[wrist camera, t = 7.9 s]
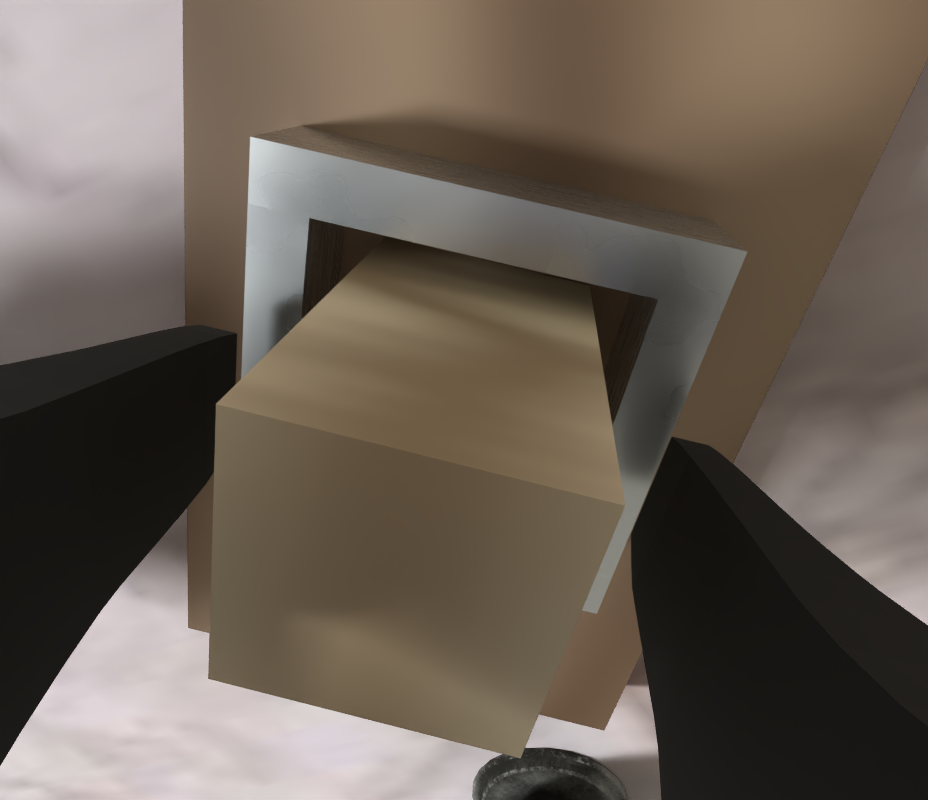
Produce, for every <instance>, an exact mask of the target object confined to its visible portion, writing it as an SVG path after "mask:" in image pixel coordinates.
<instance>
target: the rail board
mask: <svg viewBox="0 0 928 800" xmlns="http://www.w3.org/2000/svg"><path fill="white" fill-rule="evenodd" d="M927 60H928V0H183V90H184V202H185V313H186V326H192V325H204V326H209V327H213V328H217V329H221V330H226V331H230V332H234V333H237V356H236V384H237V383H238V382H239V381H240V380H241V371H242V345H243V318H244V291H245V264H246V237H247V210H248V183H249V156H250V137H251V136H255V135H260V134H264V133H269V132H274V131H278V130H283V129H287V128H292V127H297V126H301V125H302V126H306V127H310V128H315V129H319V130H323V131H328V132H332V133H336V134H341V135H345V136H349V137H354V138H358V139H362V140H367V141H371V142H375V143H380V144H384V145H388V146H393V147H397V148H401V149H406V150H410V151H414V152H419V153H423V154H427V155H432V156H436V157H440V158H445V159H449V160H453V161H458V162H462V163H466V164H471V165H475V166H479V167H484V168H488V169H492V170H497V171H501V172H505V173H510V174H514V175H518V176H523V177H527V178H531V179H536V180H540V181H544V182H549V183H553V184H557V185H562V186H566V187H570V188H575V189H579V190H583V191H588V192H592V193H596V194H601V195H605V196H609V197H614V198H618V199H622V200H627V201H631V202H635V203H640V204H644V205H648V206H653V207H657V208H661V209H666V210H670V211H674V212H679V213H683V214H687V215H692V216H696V217H700V218H705V219H709V220H713V221H715V222H717V223H718V224H719V225H720V226H721V227H722V228H723V229H724V230H725V231H726V232H727V233H728V234H729V235H730V236H731V237H732V238H734V239H735V240H736V241H737V242H738V243H739V244H740V245H741V246H742V247H743V248H744V249H745V250H746V251H747V254H746V257H745V259H744V261H743V264H742V266H741V269H740V271H739V273H738V276H737V278H736V281H735V283H734V285H733V288H732V290H731V293H730V295H729V297H728V300H727V302H726V305H725V307H724V309H723V312H722V314H721V317H720V319H719V321H718V324H717V326H716V329H715V331H714V333H713V336H712V338H711V341H710V343H709V345H708V348H707V350H706V353H705V355H704V357H703V360H702V362H701V365H700V367H699V369H698V372H697V374H696V377H695V379H694V382H693V384H692V386H691V389H690V391H689V394H688V396H687V398H686V401H685V403H684V406H683V408H682V410H681V413H680V415H679V418H678V420H677V422H676V425H675V427H674V430H673V432H672V434H671V437H676V438H680V439H685V440H689V441H693V442H697V443H701V444H706V445H709V446H711V447H712V448H714V449H715V450H717V451H718V452H719V453H721V454H722V455H723V456H724V457H725V458H727V459H728V460H729V461H730V462H731V463H732V464H733V462H734V460H735V458H736V456H737V454H738V452H739V450H740V448H741V446H742V443H743V441H744V439H745V437H746V435H747V433H748V431H749V429H750V427H751V425H752V423H753V421H754V419H755V417H756V414H757V412H758V410H759V408H760V406H761V404H762V402H763V400H764V398H765V396H766V394H767V392H768V390H769V387H770V385H771V383H772V381H773V379H774V377H775V375H776V373H777V371H778V369H779V367H780V365H781V363H782V361H783V358H784V356H785V354H786V352H787V350H788V348H789V346H790V344H791V342H792V340H793V338H794V336H795V334H796V331H797V329H798V327H799V325H800V323H801V321H802V319H803V317H804V315H805V313H806V311H807V309H808V307H809V305H810V302H811V300H812V298H813V296H814V294H815V292H816V290H817V288H818V286H819V284H820V282H821V280H822V278H823V276H824V273H825V271H826V269H827V267H828V265H829V263H830V261H831V259H832V257H833V255H834V253H835V251H836V249H837V246H838V244H839V242H840V240H841V238H842V236H843V234H844V232H845V230H846V228H847V226H848V224H849V222H850V220H851V217H852V215H853V213H854V211H855V209H856V207H857V205H858V203H859V201H860V199H861V197H862V195H863V193H864V190H865V188H866V186H867V184H868V182H869V180H870V178H871V176H872V174H873V172H874V170H875V168H876V166H877V164H878V161H879V159H880V157H881V155H882V153H883V151H884V149H885V147H886V145H887V143H888V141H889V139H890V137H891V134H892V132H893V130H894V128H895V126H896V124H897V122H898V120H899V118H900V116H901V114H902V112H903V110H904V108H905V105H906V103H907V101H908V99H909V97H910V95H911V93H912V91H913V89H914V87H915V85H916V83H917V81H918V79H919V76H920V74H921V72H922V70H923V68H924V66H925V64H926V62H927ZM385 237H386V236H384V235H380V234H376V233H372V232H367V231H363V230H359V229H354V228H350V227H346V226H345V235H344V244H343V253H342V262H341V271H340V280H339V282H340V281H341V280H342V279H343V278H344V277H345V276H346V275H347V274H348V273H349V272H350V271H351V270H352V269H353V268H354V267H356V266H357V265H358V264H359V263H360V262H361V261H362V260H363V259H364V258H365V257H366V256H367V255H368V254H369V253H370V252H371V251H372V250H373V249H374V248H375V247H376V246H377V245H378V244H379V243H380V242H381V241H382V240H383V239H384V238H385ZM388 237H389V236H388ZM392 238H393V237H392ZM396 239H397V238H396ZM400 240H401V239H400ZM404 241H406V240H404ZM408 242H410V241H408ZM412 243H414V242H412ZM416 244H419V243H416ZM420 245H423V244H420ZM425 246H427V245H425ZM429 247H431V246H429ZM433 248H436V247H433ZM437 249H440V248H437ZM441 250H444V249H441ZM445 251H449V250H445ZM449 252H453V251H449ZM453 253H457V252H453ZM457 254H461V253H457ZM461 255H466V254H461ZM466 256H470V255H466ZM470 257H474V256H470ZM474 258H478V259H482V260H486V261H490V262H494V263H498V264H502V265H506V266H511V267H515V268H519V269H523V270H527V271H531V272H535V273H539V274H543V275H547V276H552V277H556V278H560V279H564V280H568V281H572V282H576V283H580V284H584V285H588V286H590V291H591V297H592V303H593V310H594V316H595V322H596V328H597V334H598V341H599V347H600V353H601V359H602V365H603V371H605V368H606V365H607V362H608V360H609V357H610V354H611V351H612V348H613V345H614V342H615V339H616V336H617V333H618V330H619V327H620V324H621V321H622V318H623V315H624V312H625V309H626V306H627V303H628V300H629V298H630V295H631V293H628V292H624V291H620V290H616V289H611V288H607V287H603V286H599V285H594V284H590V283H586V282H581V281H577V280H573V279H569V278H564V277H560V276H556V275H551V274H547V273H543V272H539V271H534V270H530V269H526V268H521V267H517V266H513V265H509V264H504V263H500V262H496V261H491V260H487V259H483V258H479V257H474ZM671 437H670V439H671ZM670 439H669V442H670ZM669 442H668V444H669ZM668 444H667V446H666V449H667V447H668ZM666 449H665V451H666ZM665 451H664V454H665ZM664 454H663V456H664ZM663 456H662V458H661V461H662V459H663ZM661 461H660V463H661ZM660 463H659V466H660ZM659 466H658V468H659ZM658 468H657V470H656V473H657V471H658ZM656 473H655V475H656ZM655 475H654V478H655ZM654 478H653V480H654ZM653 480H652V482H651V485H652V483H653ZM651 485H650V487H651ZM650 487H649V490H650ZM649 490H648V492H649ZM648 492H647V494H646V497H647V495H648ZM213 494H214V473H213V474H212V476H211V477H210V479H209V480H208V482H207V483H206V485H205V486H204V487H203V489H202V490H201V491H200V492H199V494H198V495H197V496H196V497H195V498H194V500H193V501H192V502H191V503H190V504H189V506H188V507H187V536H188V628H191V629H195V630H199V631H203V632H207V633H210V602H211V566H212V530H213ZM646 497H645V499H646ZM645 499H644V502H645ZM644 502H643V504H644ZM643 504H642V506H641V509H642V507H643ZM641 509H640V511H641ZM640 511H639V514H640ZM639 514H638V516H639ZM638 516H637V518H638ZM637 518H636V521H637ZM636 521H635V523H636ZM635 523H634V526H635ZM634 526H633V528H634ZM633 528H632V530H633ZM632 530H631V533H632ZM631 533H630V535H629V538H628V540H627V543H626V545H625V547H624V550H623V552H622V555H621V557H620V559H619V562H618V564H617V567H616V569H615V571H614V574H613V576H612V579H611V581H610V583H609V586H608V588H607V591H606V593H605V595H604V598H603V600H602V603H601V605H600V607H599V610H598V612H597V614H595V613H591V612H587V611H583V610H582V611H581V614H580V616H579V619H578V621H577V623H576V626H575V628H574V631H573V633H572V635H571V638H570V640H569V643H568V645H567V647H566V650H565V652H564V655H563V657H562V660H561V662H560V664H559V667H558V669H557V672H556V674H555V676H554V679H553V681H552V684H551V686H550V688H549V691H548V693H547V696H546V698H545V701H544V703H543V705H542V708H541V710H540V713H539V714H540V715H544V716H548V717H552V718H556V719H560V720H564V721H568V722H572V723H576V724H580V725H584V726H588V727H592V728H596V729H601V730H605V728H606V725H607V723H608V721H609V719H610V717H611V715H612V713H613V711H614V709H615V707H616V705H617V703H618V701H619V699H620V696H621V694H622V692H623V690H624V688H625V686H626V684H627V682H628V680H629V678H630V676H631V674H632V672H633V670H634V667H635V665H636V663H637V661H638V659H639V657H640V655H641V653H642V645H641V639H640V634H639V628H638V622H637V616H636V610H635V604H634V597H633V591H632V574H631Z"/></svg>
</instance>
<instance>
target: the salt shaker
mask: <svg viewBox="0 0 928 800" xmlns="http://www.w3.org/2000/svg"><path fill="white" fill-rule="evenodd" d="M472 797H473V800H627V795H626V790H625V789H624V787H623V786H622V784H621V782H620V781H619V779H618V778H617V777H616V776H615V775H614V774H612V773H611V772H610V771H609V770H608V769H607V768H606V767H604V766H602V765H601V764H599V763H597V762H595V761H593V760H591V759H589V758H588V757H585V756H581V755H578V754H575V753H572V752H569V751H563V750H556V749H549V748H532V749H524V751H523V754H522V756H521V758H517V757H513V756H510V755H506V754H502V755H500V756H498V757H496V758H494V759H492V760H490V761H489V762H488V763H487V764H485V765H484V766H483V767H482V768H481V769H480V770H479V772H478V774H477V775H476V777H475V779H474V782H473V795H472Z"/></svg>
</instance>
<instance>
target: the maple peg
mask: <svg viewBox="0 0 928 800" xmlns="http://www.w3.org/2000/svg"><path fill="white" fill-rule="evenodd" d="M624 508H625V501H624V495H623V489H622V483H621V476H620V470H619V464H618V458H617V452H616V446H615V439H614V433H613V427H612V421H611V415H610V408H609V402H608V396H607V390H606V384H605V378H604V371H603V365H602V359H601V353H600V347H599V341H598V334H597V328H596V322H595V316H594V310H593V303H592V297H591V291H590V286H588V285H584V284H580V283H576V282H572V281H568V280H564V279H560V278H556V277H552V276H547V275H543V274H539V273H535V272H531V271H527V270H523V269H519V268H515V267H511V266H506V265H502V264H498V263H494V262H490V261H486V260H482V259H478V258H474V257H470V256H466V255H461V254H457V253H453V252H449V251H445V250H441V249H437V248H433V247H429V246H425V245H420V244H416V243H412V242H408V241H404V240H400V239H396V238H392V237H388V236H386V237H385V238H384V239H383V240H382V241H381V242H380V243H379V244H378V245H377V246H376V247H375V248H374V249H373V250H372V251H371V252H370V253H369V254H368V255H367V256H366V257H365V258H364V259H363V260H362V261H361V262H360V263H359V264H358V265H357V266H356V267H354V268H353V269H352V270H351V271H350V272H349V273H348V274H347V275H346V276H345V277H344V278H343V279H342V280H341V281H340V282H339V283H338V284H337V285H336V286H335V287H334V288H333V289H332V290H331V291H330V292H329V293H328V294H327V295H326V296H325V297H324V298H323V299H322V300H321V301H320V302H319V303H318V304H317V305H316V306H315V307H314V308H313V309H312V310H311V311H310V312H309V313H308V314H307V315H306V316H305V317H304V318H303V319H302V320H301V321H300V322H299V323H298V324H297V325H296V326H295V327H294V328H293V329H292V330H291V331H290V332H289V333H288V334H286V335H285V336H284V337H283V338H282V339H281V340H280V341H279V342H278V343H277V344H276V345H275V346H274V347H273V348H272V349H271V350H270V351H269V352H268V353H267V354H266V355H265V356H264V357H263V358H262V359H261V360H260V361H259V362H258V363H257V364H256V365H255V366H254V367H253V368H252V369H251V370H250V371H249V372H248V373H247V374H246V375H245V376H244V377H243V378H242V379H241V380H240V381H239V382H238V383H237V384H236V385H235V386H234V387H233V388H232V389H231V390H230V391H229V392H228V393H227V394H226V395H225V396H224V397H223V398H222V399H221V400H220V401H218V402H217V403H216V422H215V458H214V494H213V530H212V566H211V602H210V638H209V674H208V679H211V680H215V681H219V682H223V683H227V684H231V685H235V686H239V687H243V688H247V689H251V690H255V691H258V692H262V693H266V694H270V695H274V696H278V697H282V698H286V699H290V700H294V701H298V702H302V703H306V704H309V705H313V706H317V707H321V708H325V709H329V710H333V711H337V712H341V713H345V714H349V715H353V716H357V717H360V718H364V719H368V720H372V721H376V722H380V723H384V724H388V725H392V726H396V727H400V728H404V729H408V730H411V731H415V732H419V733H423V734H427V735H431V736H435V737H439V738H443V739H447V740H451V741H455V742H459V743H462V744H466V745H470V746H474V747H478V748H482V749H486V750H490V751H494V752H498V753H502V754H506V755H510V756H513V757H517V758H521V756H522V754H523V751H524V749H525V746H526V744H527V742H528V739H529V737H530V734H531V732H532V729H533V727H534V725H535V722H536V720H537V717H538V715H539V713H540V710H541V708H542V705H543V703H544V701H545V698H546V696H547V693H548V691H549V688H550V686H551V684H552V681H553V679H554V676H555V674H556V672H557V669H558V667H559V664H560V662H561V660H562V657H563V655H564V652H565V650H566V647H567V645H568V643H569V640H570V638H571V635H572V633H573V631H574V628H575V626H576V623H577V621H578V619H579V616H580V614H581V611H582V609H583V606H584V604H585V602H586V599H587V597H588V594H589V592H590V590H591V587H592V585H593V582H594V580H595V577H596V575H597V573H598V570H599V568H600V565H601V563H602V561H603V558H604V556H605V553H606V551H607V549H608V546H609V544H610V541H611V539H612V536H613V534H614V532H615V529H616V527H617V524H618V522H619V520H620V517H621V515H622V512H623V510H624Z"/></svg>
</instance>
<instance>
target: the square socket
mask: <svg viewBox="0 0 928 800" xmlns="http://www.w3.org/2000/svg"><path fill="white" fill-rule="evenodd" d="M345 226H346V227H350V228H354V229H359V230H363V231H367V232H372V233H376V234H380V235H384V236H389V237H393V238H397V239H401V240H406V241H410V242H414V243H419V244H423V245H427V246H431V247H436V248H440V249H444V250H449V251H453V252H457V253H461V254H466V255H470V256H474V257H479V258H483V259H487V260H491V261H496V262H500V263H504V264H509V265H513V266H517V267H521V268H526V269H530V270H534V271H539V272H543V273H547V274H551V275H556V276H560V277H564V278H569V279H573V280H577V281H581V282H586V283H590V284H594V285H599V286H603V287H607V288H611V289H616V290H620V291H624V292H628V293H631V295H630V298H629V300H628V303H627V306H626V309H625V312H624V315H623V318H622V321H621V324H620V327H619V330H618V333H617V336H616V339H615V342H614V345H613V348H612V351H611V354H610V357H609V360H608V362H607V365H606V368H605V371H604V378H605V384H606V390H607V396H608V402H609V408H610V415H611V421H612V427H613V433H614V439H615V446H616V452H617V458H618V464H619V470H620V476H621V483H622V489H623V495H624V501H625V508H624V510H623V512H622V515H621V517H620V520H619V522H618V524H617V527H616V529H615V532H614V534H613V536H612V539H611V541H610V544H609V546H608V549H607V551H606V553H605V556H604V558H603V561H602V563H601V565H600V568H599V570H598V573H597V575H596V577H595V580H594V582H593V585H592V587H591V590H590V592H589V594H588V597H587V599H586V602H585V604H584V606H583V609H582V610H583V611H587V612H591V613H595V614H597V612H598V610H599V607H600V605H601V603H602V600H603V598H604V595H605V593H606V591H607V588H608V586H609V583H610V581H611V579H612V576H613V574H614V571H615V569H616V567H617V564H618V562H619V559H620V557H621V555H622V552H623V550H624V547H625V545H626V543H627V540H628V538H629V535H630V533H631V530H632V528H633V526H634V523H635V521H636V518H637V516H638V514H639V511H640V509H641V506H642V504H643V502H644V499H645V497H646V494H647V492H648V490H649V487H650V485H651V482H652V480H653V478H654V475H655V473H656V470H657V468H658V466H659V463H660V461H661V458H662V456H663V454H664V451H665V449H666V446H667V444H668V442H669V439H670V437H671V434H672V432H673V430H674V427H675V425H676V422H677V420H678V418H679V415H680V413H681V410H682V408H683V406H684V403H685V401H686V398H687V396H688V394H689V391H690V389H691V386H692V384H693V382H694V379H695V377H696V374H697V372H698V369H699V367H700V365H701V362H702V360H703V357H704V355H705V353H706V350H707V348H708V345H709V343H710V341H711V338H712V336H713V333H714V331H715V329H716V326H717V324H718V321H719V319H720V317H721V314H722V312H723V309H724V307H725V305H726V302H727V300H728V297H729V295H730V293H731V290H732V288H733V285H734V283H735V281H736V278H737V276H738V273H739V271H740V269H741V266H742V264H743V261H744V259H745V257H746V254H747V251H746V250H745V249H744V248H743V247H742V246H741V245H740V244H739V243H738V242H737V241H736V240H735V239H734V238H732V237H731V236H730V235H729V234H728V233H727V232H726V231H725V230H724V229H723V228H722V227H721V226H720V225H719V224H718V223H717V222H715V221H713V220H709V219H705V218H700V217H696V216H692V215H687V214H683V213H679V212H674V211H670V210H666V209H661V208H657V207H653V206H648V205H644V204H640V203H635V202H631V201H627V200H622V199H618V198H614V197H609V196H605V195H601V194H596V193H592V192H588V191H583V190H579V189H575V188H570V187H566V186H562V185H557V184H553V183H549V182H544V181H540V180H536V179H531V178H527V177H523V176H518V175H514V174H510V173H505V172H501V171H497V170H492V169H488V168H484V167H479V166H475V165H471V164H466V163H462V162H458V161H453V160H449V159H445V158H440V157H436V156H432V155H427V154H423V153H419V152H414V151H410V150H406V149H401V148H397V147H393V146H388V145H384V144H380V143H375V142H371V141H367V140H362V139H358V138H354V137H349V136H345V135H341V134H336V133H332V132H328V131H323V130H319V129H315V128H310V127H306V126H302V125H301V126H297V127H292V128H287V129H283V130H278V131H274V132H269V133H264V134H260V135H255V136H251V137H250V156H249V183H248V210H247V237H246V264H245V291H244V318H243V345H242V371H241V379H242V378H243V377H244V376H245V375H246V374H247V373H248V372H249V371H250V370H251V369H252V368H253V367H254V366H255V365H256V364H257V363H258V362H259V361H260V360H261V359H262V358H263V357H264V356H265V355H266V354H267V353H268V352H269V351H270V350H271V349H272V348H273V347H274V346H275V345H276V344H277V343H278V342H279V341H280V340H281V339H282V338H283V337H284V336H285V335H286V334H288V333H289V332H290V331H291V330H292V329H293V328H294V327H295V326H296V325H297V324H298V323H299V322H300V321H301V320H302V319H303V318H304V317H305V316H306V315H307V314H308V313H309V312H310V311H311V310H312V309H313V308H314V307H315V306H316V305H317V304H318V303H319V302H320V301H321V300H322V299H323V298H324V297H325V296H326V295H327V294H328V293H329V292H330V291H331V290H332V289H333V288H334V287H335V286H336V285H337V284H338V283H339V280H340V271H341V262H342V253H343V244H344V235H345Z"/></svg>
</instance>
